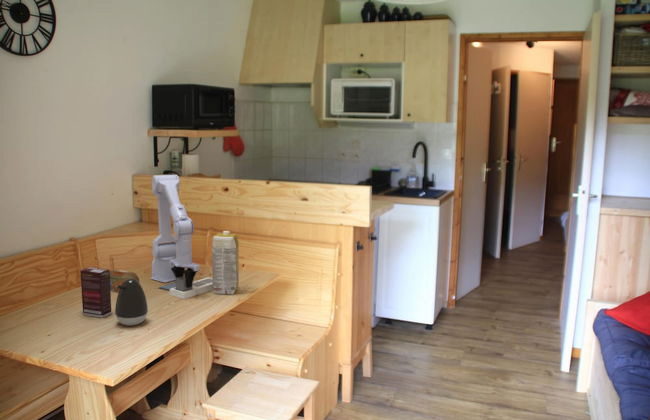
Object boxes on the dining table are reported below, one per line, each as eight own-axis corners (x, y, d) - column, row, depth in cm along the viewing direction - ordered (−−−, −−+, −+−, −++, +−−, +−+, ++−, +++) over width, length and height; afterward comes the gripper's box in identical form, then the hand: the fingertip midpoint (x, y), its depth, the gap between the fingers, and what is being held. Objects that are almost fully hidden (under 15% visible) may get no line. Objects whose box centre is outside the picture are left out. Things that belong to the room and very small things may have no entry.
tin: (104, 290, 222) (103, 269, 220) (110, 288, 225) (109, 267, 223) (135, 295, 216) (135, 274, 215) (141, 293, 219) (140, 272, 218)
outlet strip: (169, 295, 218) (169, 287, 217) (214, 280, 237) (214, 273, 237) (183, 299, 213) (183, 291, 213) (228, 284, 233) (228, 277, 232)
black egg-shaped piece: (108, 325, 186) (106, 280, 184) (132, 315, 195) (131, 272, 193) (131, 331, 182) (129, 285, 179) (154, 321, 191) (153, 277, 188)
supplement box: (112, 313, 197) (110, 269, 194) (102, 318, 192) (100, 272, 189) (91, 310, 199) (89, 266, 197) (81, 314, 195) (79, 270, 192)
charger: (175, 290, 218) (175, 278, 217) (184, 288, 221) (184, 275, 220) (183, 293, 215) (183, 280, 214) (192, 290, 219) (192, 277, 218)
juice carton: (240, 289, 226) (239, 230, 222) (234, 295, 219) (234, 234, 215) (217, 288, 227) (216, 229, 223) (211, 294, 220) (210, 233, 216)
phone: (158, 290, 225) (158, 287, 225) (182, 281, 237) (182, 278, 237) (171, 292, 222) (171, 290, 222) (195, 283, 234) (195, 281, 234)
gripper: (162, 250, 217) (163, 284, 219) (189, 256, 209) (189, 292, 211) (177, 247, 222) (177, 280, 225) (203, 252, 214) (203, 287, 217)
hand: (184, 285), depth 218 cm, fingers closed on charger, 4 cm apart
